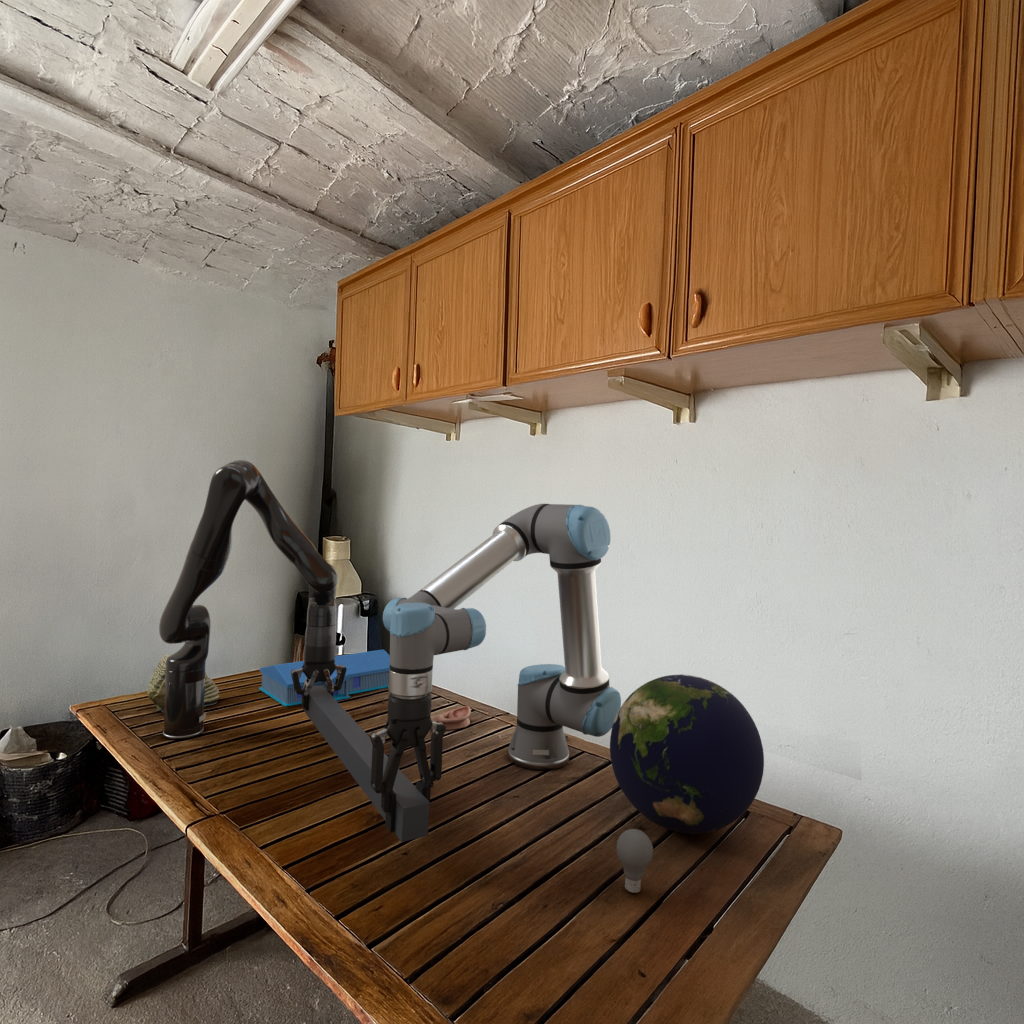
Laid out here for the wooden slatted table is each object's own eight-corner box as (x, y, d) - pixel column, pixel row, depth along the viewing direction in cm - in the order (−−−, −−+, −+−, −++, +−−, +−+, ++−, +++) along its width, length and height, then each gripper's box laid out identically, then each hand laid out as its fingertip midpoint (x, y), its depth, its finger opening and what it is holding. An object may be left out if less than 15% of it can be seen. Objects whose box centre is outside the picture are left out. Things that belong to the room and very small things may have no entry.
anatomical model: (417, 713, 176) (431, 700, 187) (417, 727, 176) (430, 714, 187) (463, 718, 173) (474, 705, 184) (463, 733, 173) (473, 719, 184)
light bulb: (610, 879, 108) (613, 822, 108) (644, 879, 109) (647, 822, 109) (619, 902, 102) (622, 840, 102) (655, 901, 103) (658, 840, 103)
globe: (589, 842, 120) (597, 685, 120) (623, 780, 148) (629, 652, 147) (758, 884, 109) (767, 711, 108) (760, 808, 137) (767, 670, 136)
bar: (302, 709, 164) (303, 687, 164) (321, 706, 167) (322, 685, 167) (401, 842, 106) (403, 808, 106) (428, 835, 108) (429, 802, 108)
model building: (289, 709, 186) (291, 675, 185) (258, 688, 204) (259, 657, 204) (403, 687, 212) (405, 657, 212) (366, 670, 230) (368, 643, 230)
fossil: (144, 707, 182) (145, 655, 182) (212, 696, 194) (213, 647, 194) (151, 716, 175) (153, 662, 175) (221, 703, 188) (223, 653, 188)
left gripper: (294, 647, 154) (291, 716, 154) (352, 643, 162) (349, 709, 162) (287, 640, 160) (284, 707, 161) (343, 636, 168) (340, 700, 168)
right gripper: (367, 706, 103) (361, 848, 103) (465, 692, 112) (460, 822, 113) (353, 693, 109) (348, 826, 110) (447, 681, 118) (442, 804, 119)
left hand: (317, 707), depth 161 cm, fingers closed on bar, 5 cm apart
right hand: (405, 824), depth 111 cm, fingers closed on bar, 5 cm apart
